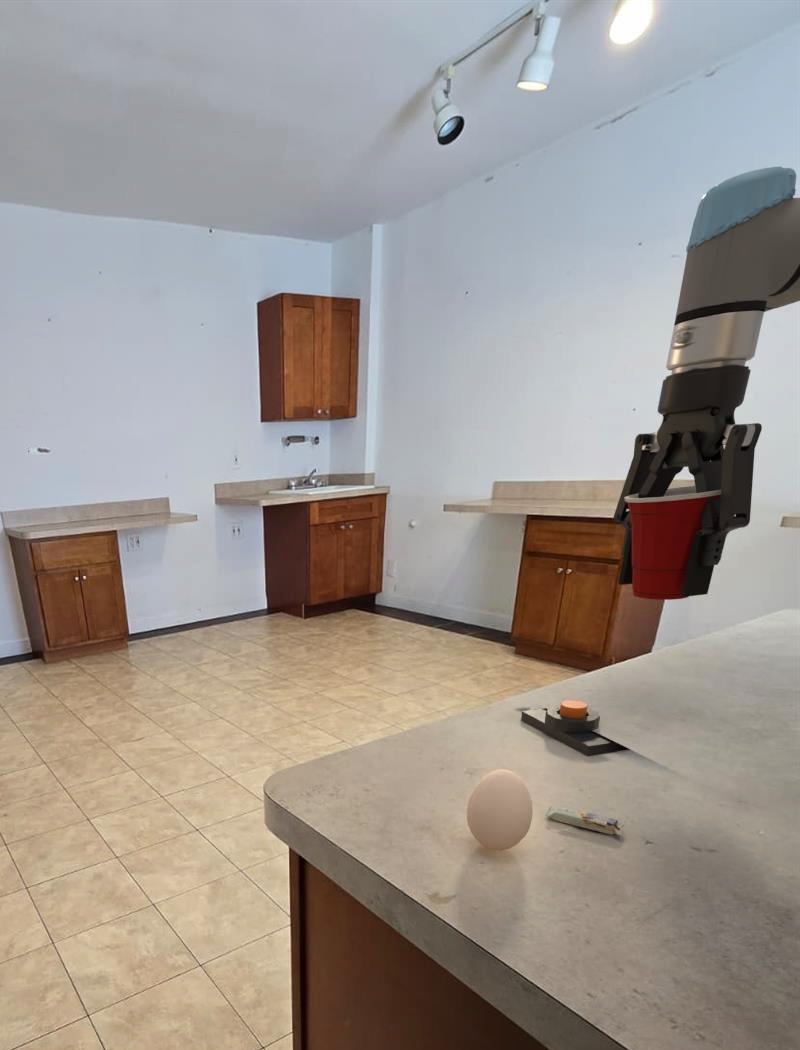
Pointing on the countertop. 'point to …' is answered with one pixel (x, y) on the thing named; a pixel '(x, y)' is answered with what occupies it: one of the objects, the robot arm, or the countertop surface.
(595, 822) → the granola bar
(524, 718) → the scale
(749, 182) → the robot arm
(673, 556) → the plastic cup
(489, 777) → the egg
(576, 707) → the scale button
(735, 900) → the countertop surface
